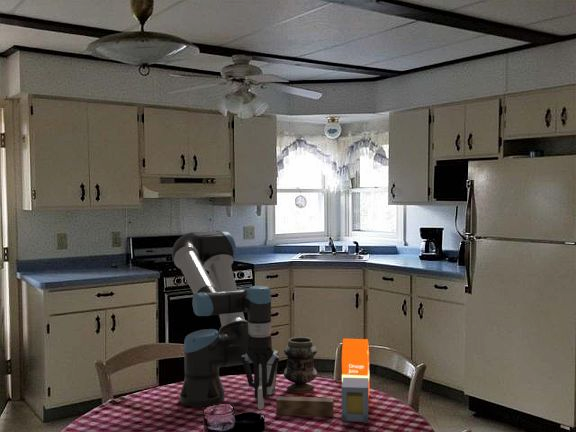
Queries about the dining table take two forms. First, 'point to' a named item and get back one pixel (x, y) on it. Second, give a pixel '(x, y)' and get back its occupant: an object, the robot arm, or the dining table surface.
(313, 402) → the wooden bar
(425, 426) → the dining table surface
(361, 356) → the orange juice
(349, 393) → the block
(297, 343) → the brown ornate vase
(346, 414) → the grey framed box
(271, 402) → the dining table surface
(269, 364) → the syrup box
